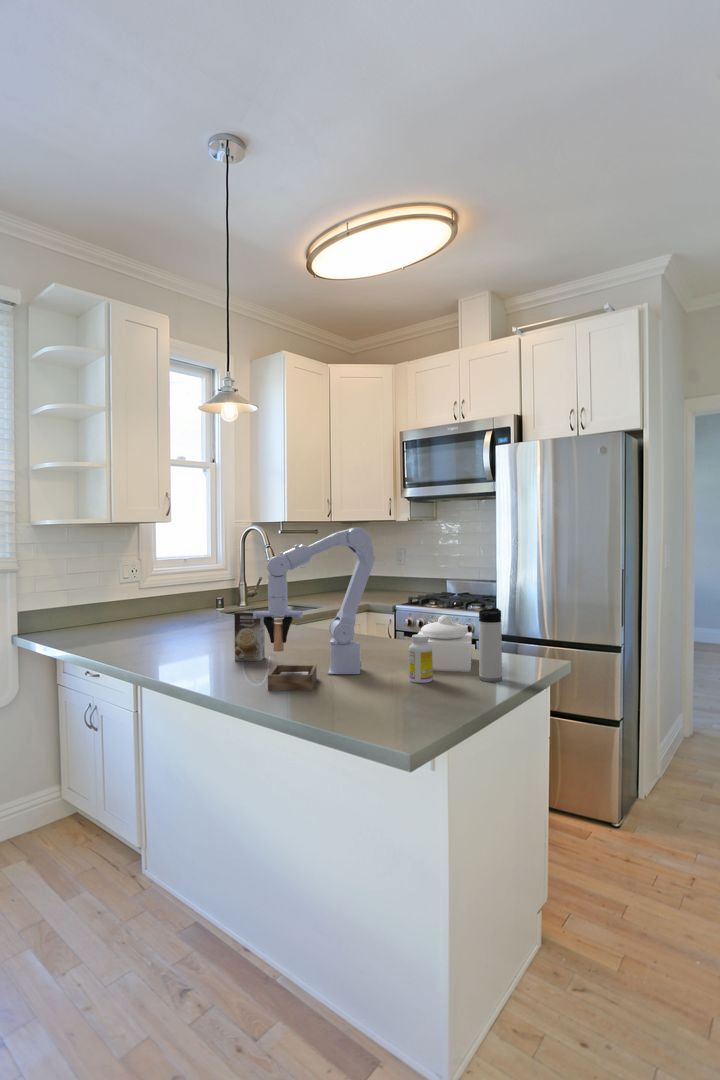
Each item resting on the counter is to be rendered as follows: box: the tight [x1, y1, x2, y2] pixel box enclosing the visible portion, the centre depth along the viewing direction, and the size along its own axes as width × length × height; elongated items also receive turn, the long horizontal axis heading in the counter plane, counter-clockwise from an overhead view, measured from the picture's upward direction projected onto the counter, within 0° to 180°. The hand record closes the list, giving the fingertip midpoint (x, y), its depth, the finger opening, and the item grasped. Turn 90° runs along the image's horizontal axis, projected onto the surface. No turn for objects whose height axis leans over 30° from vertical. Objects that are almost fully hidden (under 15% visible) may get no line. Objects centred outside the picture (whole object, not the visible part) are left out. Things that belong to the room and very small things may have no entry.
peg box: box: [267, 664, 318, 691], centre depth 162 cm, size 12×12×4 cm
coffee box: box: [233, 609, 266, 662], centre depth 194 cm, size 9×6×16 cm
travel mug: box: [478, 607, 503, 683], centre depth 164 cm, size 6×7×20 cm
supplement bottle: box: [408, 633, 434, 684], centre depth 164 cm, size 7×7×13 cm
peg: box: [273, 622, 285, 653], centre depth 172 cm, size 3×3×8 cm
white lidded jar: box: [411, 614, 473, 673], centre depth 184 cm, size 18×18×16 cm
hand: (278, 642), depth 172 cm, fingers closed on peg, 3 cm apart
